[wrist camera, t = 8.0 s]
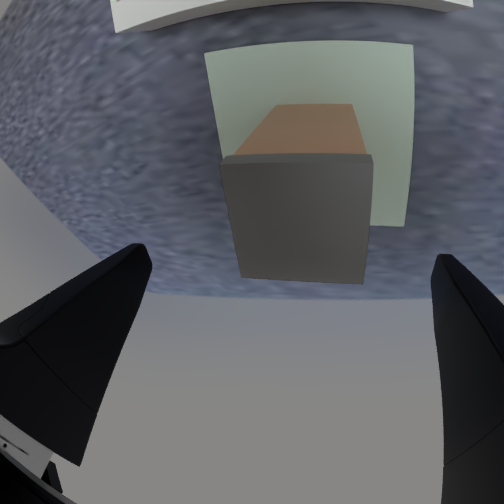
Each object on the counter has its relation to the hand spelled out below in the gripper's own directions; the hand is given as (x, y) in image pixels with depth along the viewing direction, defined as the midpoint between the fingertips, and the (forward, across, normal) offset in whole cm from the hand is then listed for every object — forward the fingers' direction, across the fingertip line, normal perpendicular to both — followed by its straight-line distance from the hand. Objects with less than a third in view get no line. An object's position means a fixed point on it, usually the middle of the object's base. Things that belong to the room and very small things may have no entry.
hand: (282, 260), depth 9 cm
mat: (+12, 0, 0) cm, 12 cm away
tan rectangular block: (+12, 0, 0) cm, 12 cm away
